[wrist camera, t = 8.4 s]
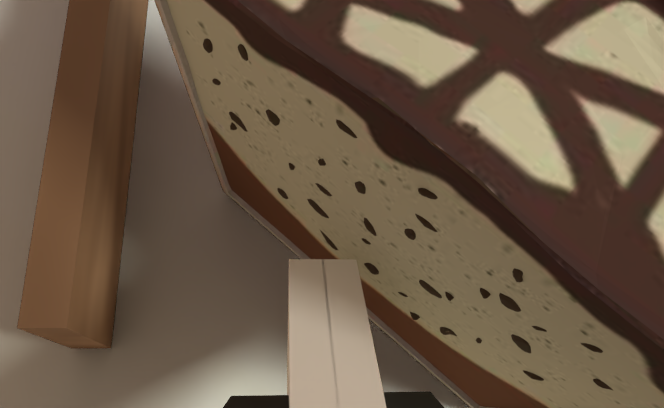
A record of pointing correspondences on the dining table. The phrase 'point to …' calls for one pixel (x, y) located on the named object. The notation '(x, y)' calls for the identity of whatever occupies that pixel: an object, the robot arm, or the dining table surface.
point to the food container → (458, 174)
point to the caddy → (85, 177)
